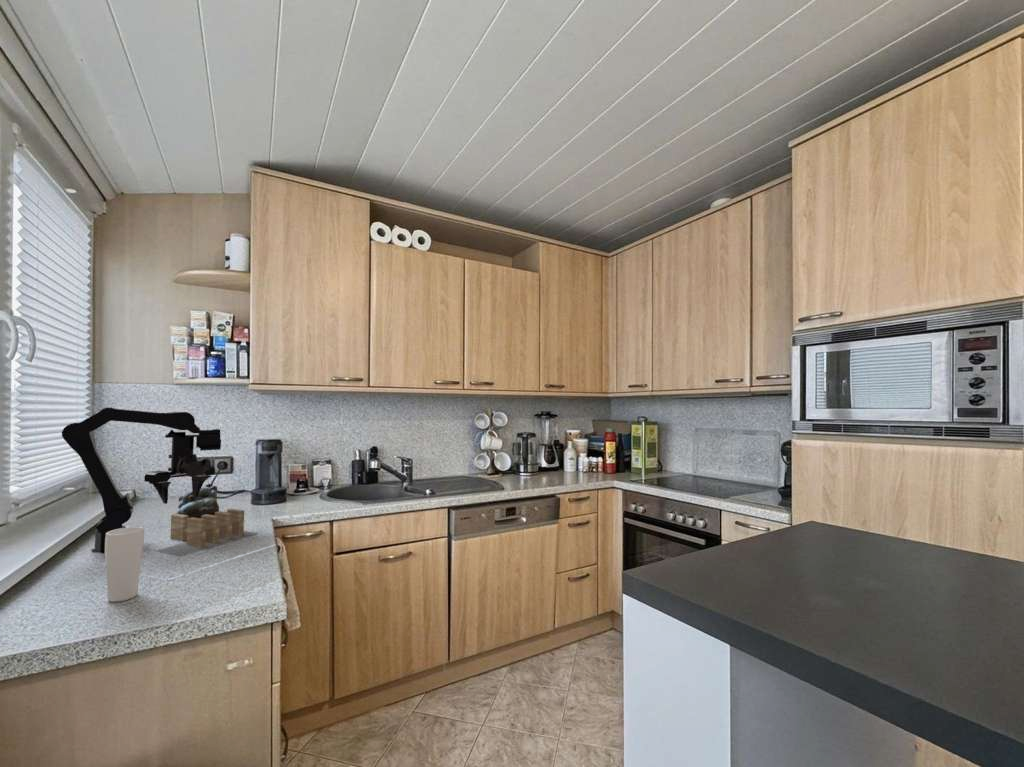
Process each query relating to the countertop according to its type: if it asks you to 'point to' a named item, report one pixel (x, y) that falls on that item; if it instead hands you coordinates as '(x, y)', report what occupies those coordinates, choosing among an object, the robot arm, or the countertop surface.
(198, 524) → the domino
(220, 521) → the wooden block
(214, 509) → the lucky cat figurine
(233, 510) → the domino
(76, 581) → the countertop surface
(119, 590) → the beige tall tapered piece
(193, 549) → the slate mat
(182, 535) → the domino
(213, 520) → the domino
